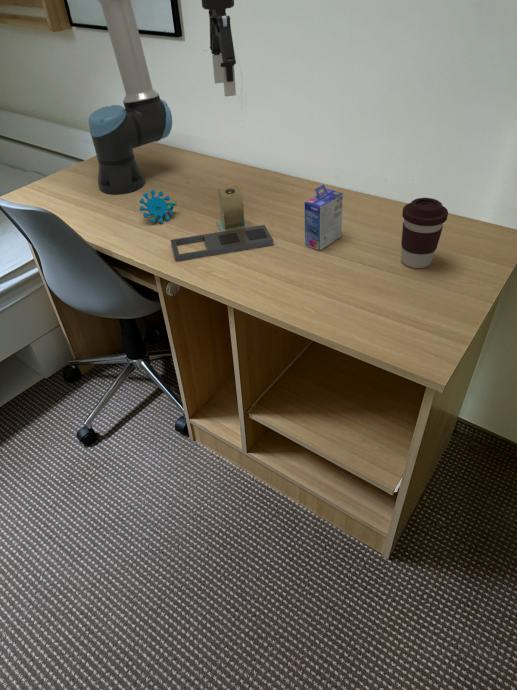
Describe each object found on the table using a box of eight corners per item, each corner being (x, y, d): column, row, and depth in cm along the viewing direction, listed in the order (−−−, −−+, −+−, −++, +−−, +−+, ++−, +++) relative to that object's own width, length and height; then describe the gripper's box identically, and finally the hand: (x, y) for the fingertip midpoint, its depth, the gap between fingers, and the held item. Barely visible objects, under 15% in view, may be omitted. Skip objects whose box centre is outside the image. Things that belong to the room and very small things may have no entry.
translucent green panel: (216, 222, 142) (216, 221, 141) (243, 218, 143) (243, 217, 143) (221, 235, 136) (221, 234, 135) (250, 231, 137) (250, 229, 137)
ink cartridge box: (325, 230, 135) (327, 178, 126) (342, 236, 132) (345, 184, 123) (302, 245, 130) (303, 192, 120) (319, 251, 127) (322, 197, 118)
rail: (171, 244, 133) (170, 239, 132) (264, 229, 137) (264, 224, 136) (175, 261, 126) (174, 256, 125) (273, 245, 131) (273, 239, 130)
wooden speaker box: (221, 222, 141) (218, 188, 134) (240, 219, 142) (237, 185, 135) (225, 231, 137) (221, 196, 130) (244, 228, 137) (242, 193, 131)
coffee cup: (429, 276, 116) (442, 217, 106) (389, 265, 120) (397, 208, 111) (442, 256, 122) (455, 199, 113) (403, 247, 127) (412, 191, 117)
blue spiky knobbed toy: (144, 223, 140) (136, 190, 140) (141, 231, 145) (133, 199, 146) (181, 219, 144) (173, 187, 145) (177, 227, 149) (169, 195, 150)
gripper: (192, -17, 122) (202, 79, 135) (209, -6, 103) (219, 103, 117) (222, -19, 123) (229, 76, 137) (244, -9, 104) (250, 99, 118)
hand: (225, 89), depth 127 cm, fingers open, 13 cm apart
